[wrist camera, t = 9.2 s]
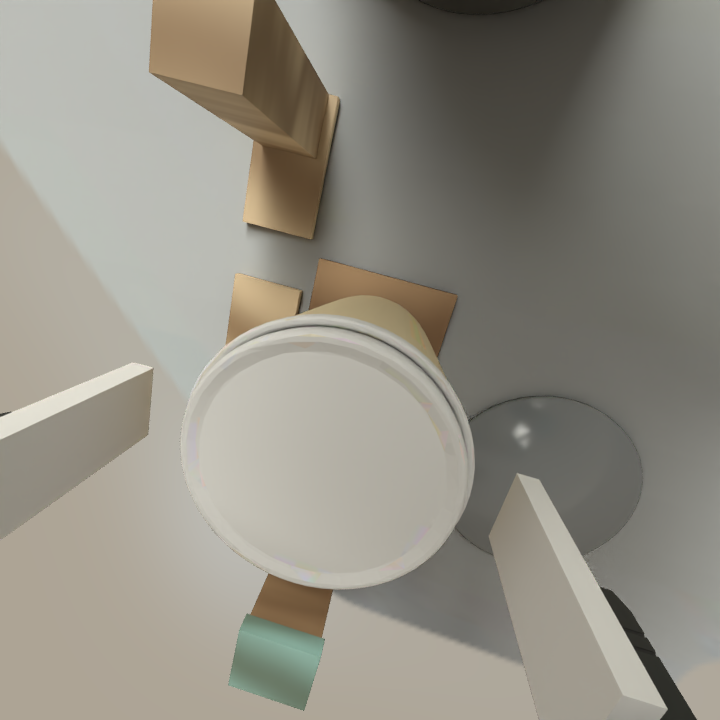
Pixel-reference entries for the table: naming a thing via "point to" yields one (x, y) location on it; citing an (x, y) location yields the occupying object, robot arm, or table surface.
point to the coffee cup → (329, 446)
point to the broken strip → (254, 119)
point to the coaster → (553, 467)
